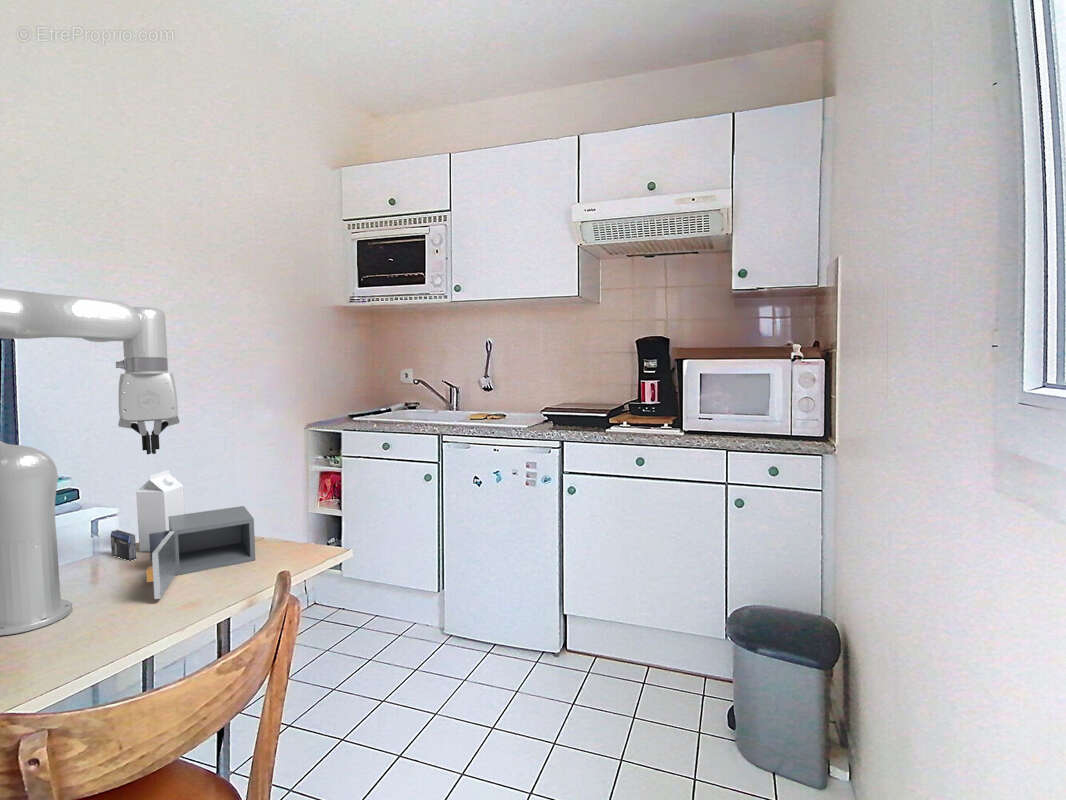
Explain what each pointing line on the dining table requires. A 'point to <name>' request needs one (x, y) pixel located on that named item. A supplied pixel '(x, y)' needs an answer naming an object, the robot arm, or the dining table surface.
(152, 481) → the milk carton
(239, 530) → the grey cabinet
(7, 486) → the robot arm
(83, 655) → the dining table surface
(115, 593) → the dining table surface
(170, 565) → the door
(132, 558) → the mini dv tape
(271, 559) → the dining table surface
